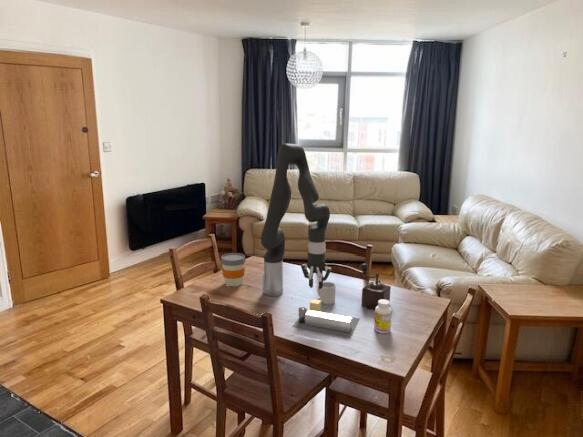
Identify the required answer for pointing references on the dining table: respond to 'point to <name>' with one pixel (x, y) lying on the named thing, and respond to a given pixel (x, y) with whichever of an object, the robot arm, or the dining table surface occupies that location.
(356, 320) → the mat
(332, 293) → the cup
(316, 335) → the dining table surface
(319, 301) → the block
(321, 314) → the bar
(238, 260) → the reusable coffee cup
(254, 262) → the dining table surface
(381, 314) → the supplement bottle
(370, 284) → the coffee grinder
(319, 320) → the base
